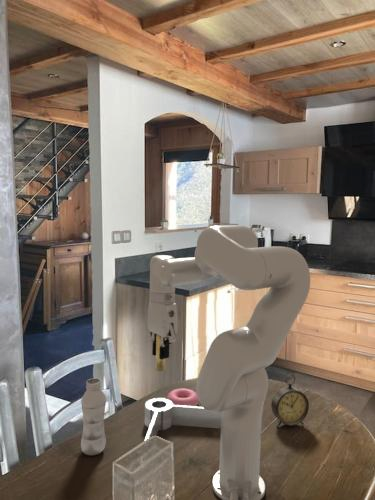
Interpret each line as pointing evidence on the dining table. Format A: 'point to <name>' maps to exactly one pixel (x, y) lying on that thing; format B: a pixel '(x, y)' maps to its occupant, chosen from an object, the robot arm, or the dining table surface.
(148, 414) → the hinge
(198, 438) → the dining table surface
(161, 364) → the hinge pin
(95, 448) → the plastic bottle
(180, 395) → the doughnut
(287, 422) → the alarm clock
